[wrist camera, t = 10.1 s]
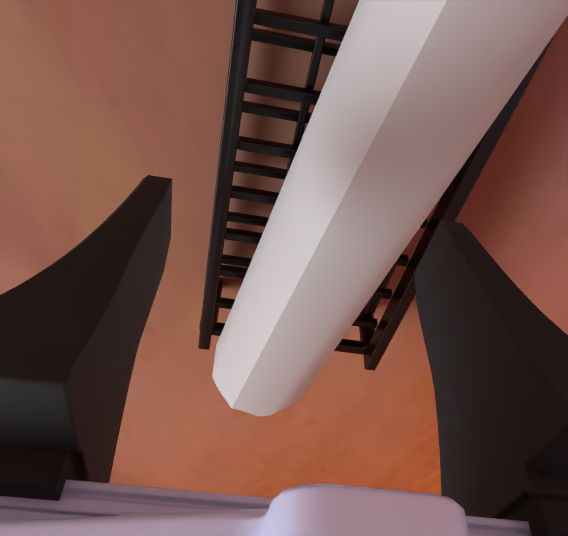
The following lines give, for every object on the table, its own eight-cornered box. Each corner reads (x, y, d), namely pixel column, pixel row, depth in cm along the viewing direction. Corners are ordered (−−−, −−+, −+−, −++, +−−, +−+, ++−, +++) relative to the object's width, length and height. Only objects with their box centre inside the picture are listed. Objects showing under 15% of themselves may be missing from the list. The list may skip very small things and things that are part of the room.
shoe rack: (567, -125, 17) (628, -94, 14) (369, 309, 32) (376, 371, 29) (261, -199, 16) (252, -184, 13) (206, 286, 31) (196, 348, 28)
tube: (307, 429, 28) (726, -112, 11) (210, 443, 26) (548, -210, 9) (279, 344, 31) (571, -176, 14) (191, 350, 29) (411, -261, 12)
